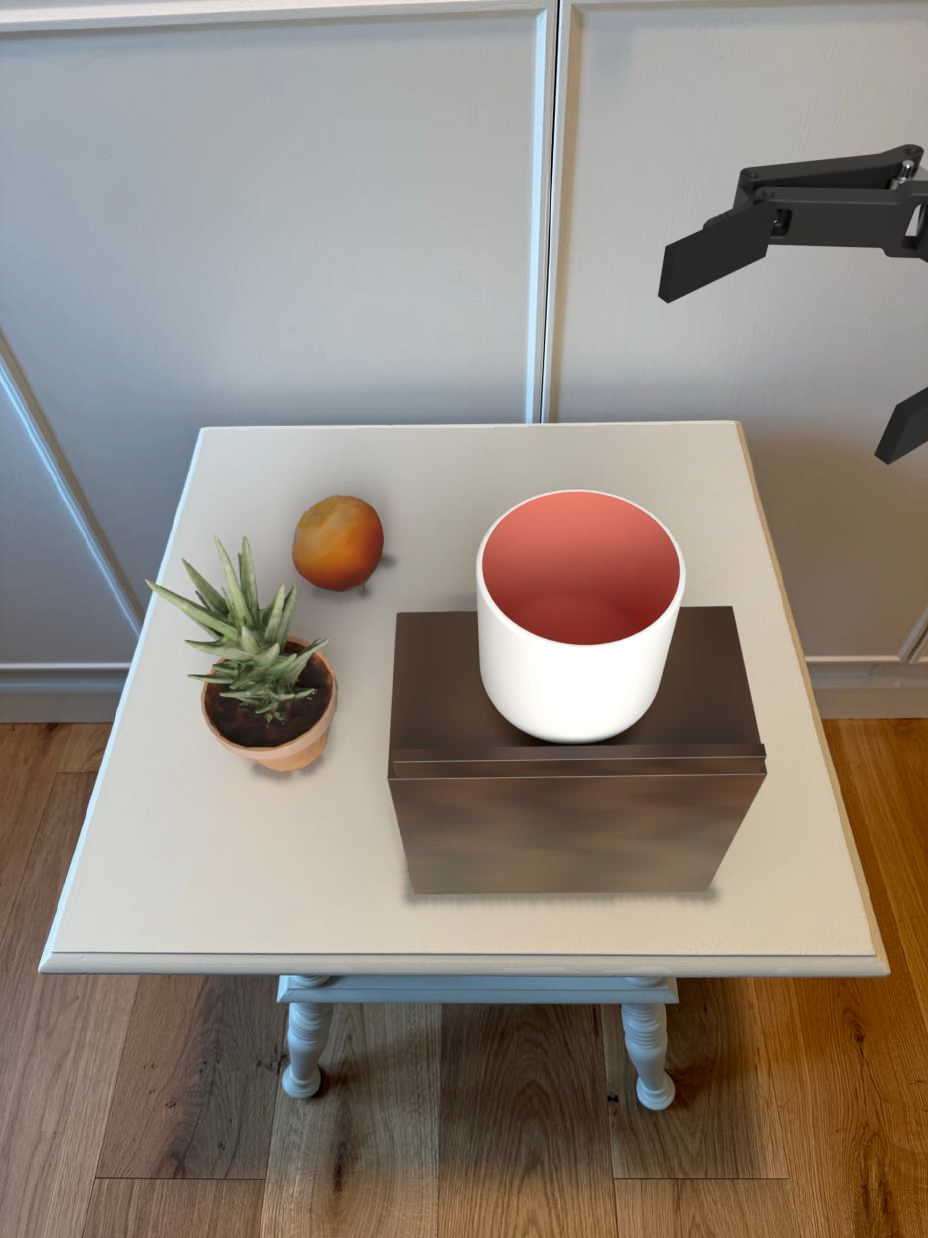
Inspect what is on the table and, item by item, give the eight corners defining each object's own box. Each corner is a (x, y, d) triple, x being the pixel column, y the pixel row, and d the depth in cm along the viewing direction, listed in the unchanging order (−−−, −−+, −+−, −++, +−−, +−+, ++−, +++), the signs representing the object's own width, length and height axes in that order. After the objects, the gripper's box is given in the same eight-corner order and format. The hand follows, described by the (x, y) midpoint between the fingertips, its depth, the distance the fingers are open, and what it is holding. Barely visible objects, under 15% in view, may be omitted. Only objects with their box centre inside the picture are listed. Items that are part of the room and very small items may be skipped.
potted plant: (226, 805, 68) (109, 606, 48) (225, 696, 73) (120, 476, 53) (361, 784, 68) (302, 578, 48) (350, 677, 74) (293, 453, 54)
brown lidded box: (684, 747, 69) (739, 584, 53) (706, 891, 63) (777, 756, 47) (419, 751, 70) (393, 591, 54) (414, 894, 63) (382, 762, 47)
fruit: (385, 609, 76) (327, 543, 71) (319, 616, 81) (261, 555, 76) (421, 538, 80) (369, 471, 76) (357, 549, 85) (303, 487, 80)
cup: (695, 692, 51) (731, 581, 43) (552, 788, 48) (561, 689, 40) (582, 577, 56) (595, 459, 48) (446, 658, 53) (435, 546, 45)
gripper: (1267, 378, 44) (970, 583, 37) (861, 161, 56) (586, 287, 50) (1391, 232, 38) (1061, 447, 31) (904, 25, 50) (598, 148, 44)
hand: (768, 349), depth 41 cm, fingers open, 13 cm apart
